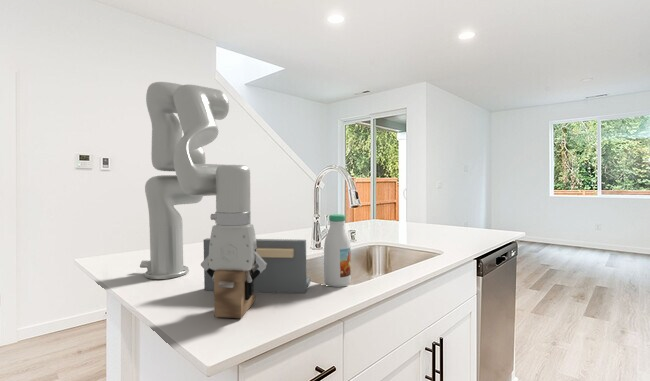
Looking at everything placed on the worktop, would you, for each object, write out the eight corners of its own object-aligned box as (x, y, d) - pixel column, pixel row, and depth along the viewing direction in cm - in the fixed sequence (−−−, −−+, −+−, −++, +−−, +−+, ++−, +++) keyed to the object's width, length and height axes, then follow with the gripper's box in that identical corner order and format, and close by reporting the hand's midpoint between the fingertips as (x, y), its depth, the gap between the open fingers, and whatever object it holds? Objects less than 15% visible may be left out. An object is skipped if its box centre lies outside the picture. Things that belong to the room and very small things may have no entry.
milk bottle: (330, 289, 93) (330, 217, 92) (320, 281, 100) (319, 214, 99) (355, 285, 96) (355, 215, 95) (343, 278, 103) (343, 212, 102)
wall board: (201, 292, 90) (200, 241, 90) (219, 279, 102) (218, 233, 102) (304, 295, 88) (303, 242, 87) (310, 281, 100) (310, 234, 99)
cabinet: (212, 318, 73) (212, 273, 72) (231, 299, 84) (231, 260, 83) (239, 320, 72) (239, 274, 72) (255, 300, 83) (254, 260, 82)
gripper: (188, 221, 73) (190, 302, 74) (266, 222, 72) (266, 305, 73) (204, 216, 81) (205, 290, 82) (274, 217, 79) (275, 293, 80)
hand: (234, 296), depth 77 cm, fingers closed on cabinet, 6 cm apart
